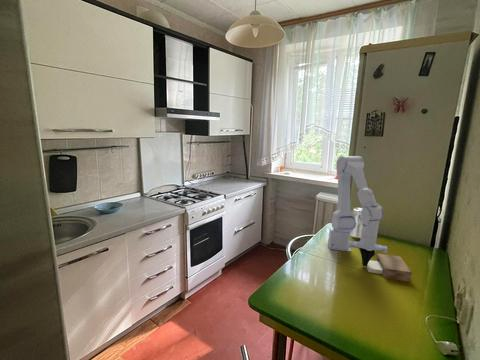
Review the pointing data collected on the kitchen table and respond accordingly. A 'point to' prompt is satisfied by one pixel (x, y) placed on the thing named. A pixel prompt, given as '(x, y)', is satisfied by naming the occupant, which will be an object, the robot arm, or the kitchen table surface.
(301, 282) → the kitchen table surface
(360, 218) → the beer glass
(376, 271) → the tile
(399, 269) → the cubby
